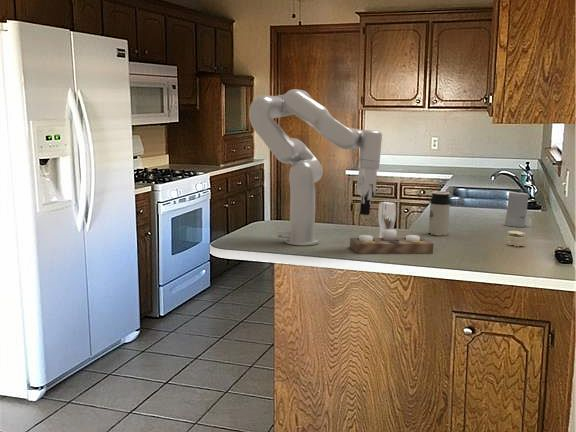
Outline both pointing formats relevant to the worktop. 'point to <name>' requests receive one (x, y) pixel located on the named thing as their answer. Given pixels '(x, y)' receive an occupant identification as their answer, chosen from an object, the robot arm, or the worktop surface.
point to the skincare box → (516, 209)
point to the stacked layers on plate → (516, 238)
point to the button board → (391, 246)
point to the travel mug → (439, 213)
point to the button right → (412, 238)
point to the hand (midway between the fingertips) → (364, 214)
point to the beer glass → (386, 216)
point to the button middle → (389, 235)
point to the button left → (365, 238)
